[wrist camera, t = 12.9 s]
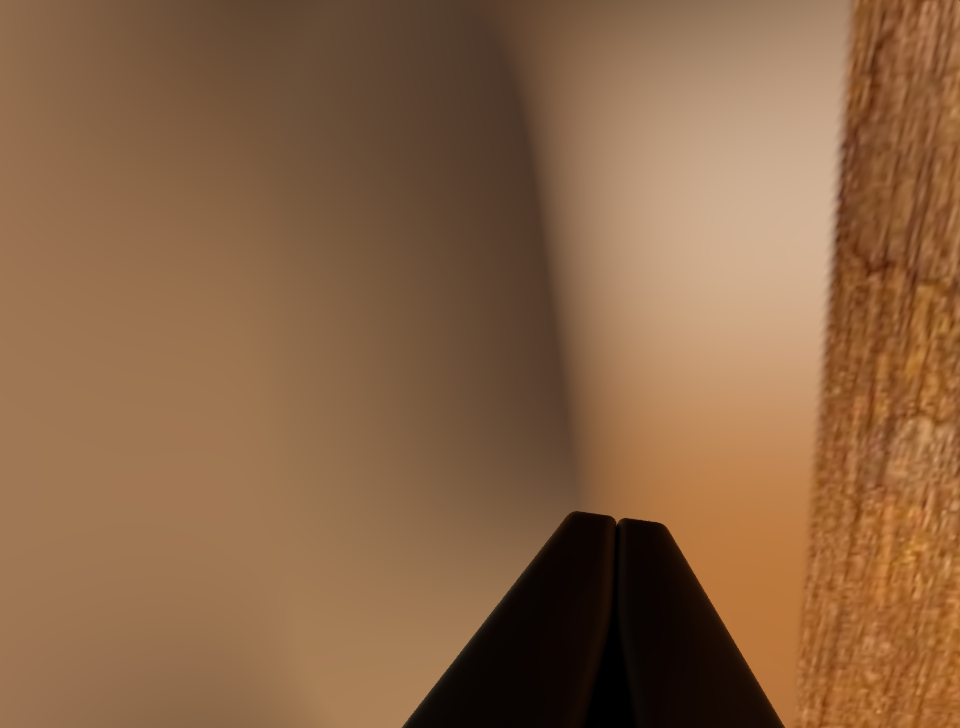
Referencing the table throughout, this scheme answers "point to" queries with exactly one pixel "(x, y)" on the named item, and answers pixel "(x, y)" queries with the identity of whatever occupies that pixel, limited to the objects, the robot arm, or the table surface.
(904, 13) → the table surface
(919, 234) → the table surface
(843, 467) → the table surface
